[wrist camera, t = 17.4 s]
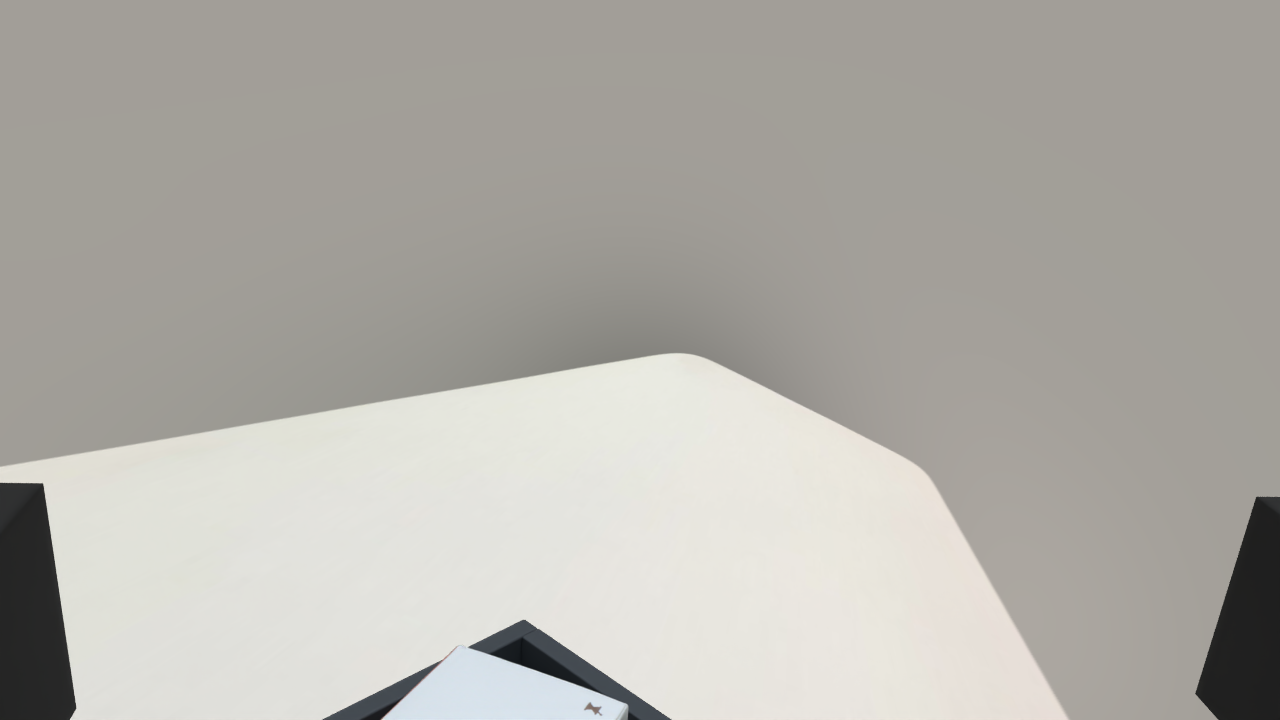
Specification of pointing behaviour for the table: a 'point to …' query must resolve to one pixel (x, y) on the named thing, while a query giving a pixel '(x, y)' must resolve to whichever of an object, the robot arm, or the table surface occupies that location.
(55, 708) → the robot arm
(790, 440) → the table surface
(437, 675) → the small box
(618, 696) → the dark grey square bin
